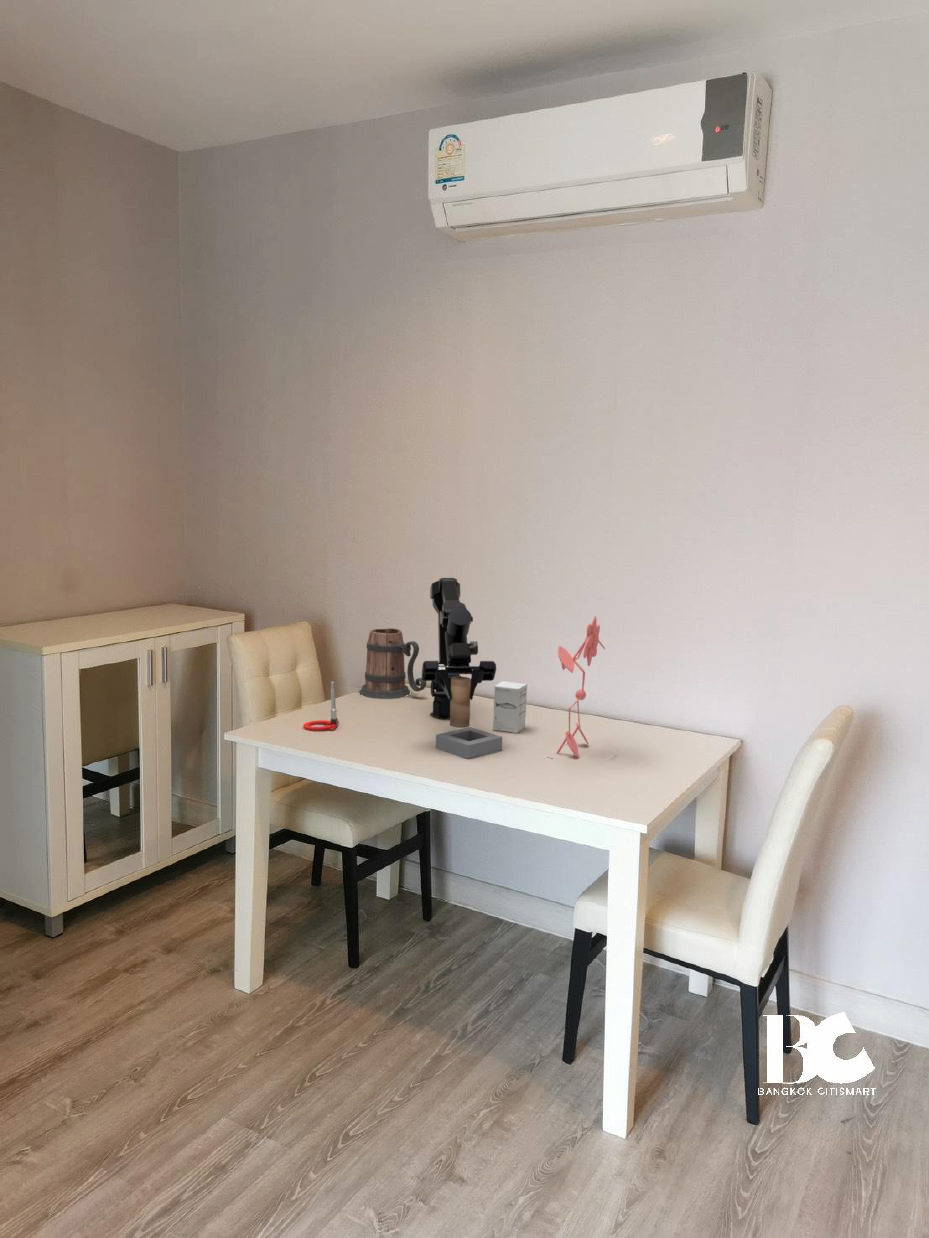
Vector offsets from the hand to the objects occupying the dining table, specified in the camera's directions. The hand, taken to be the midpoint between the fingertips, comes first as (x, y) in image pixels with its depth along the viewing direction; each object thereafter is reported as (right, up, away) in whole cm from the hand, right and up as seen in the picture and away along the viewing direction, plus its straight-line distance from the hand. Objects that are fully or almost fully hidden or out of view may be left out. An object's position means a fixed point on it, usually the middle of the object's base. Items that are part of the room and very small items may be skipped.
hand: (461, 699), depth 235 cm
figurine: (+32, -14, +4) cm, 36 cm away
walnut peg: (0, -7, +2) cm, 7 cm away
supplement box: (+13, -10, +24) cm, 29 cm away
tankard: (-22, -4, +61) cm, 64 cm away
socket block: (+2, -13, +4) cm, 14 cm away
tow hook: (-39, -10, +20) cm, 45 cm away
